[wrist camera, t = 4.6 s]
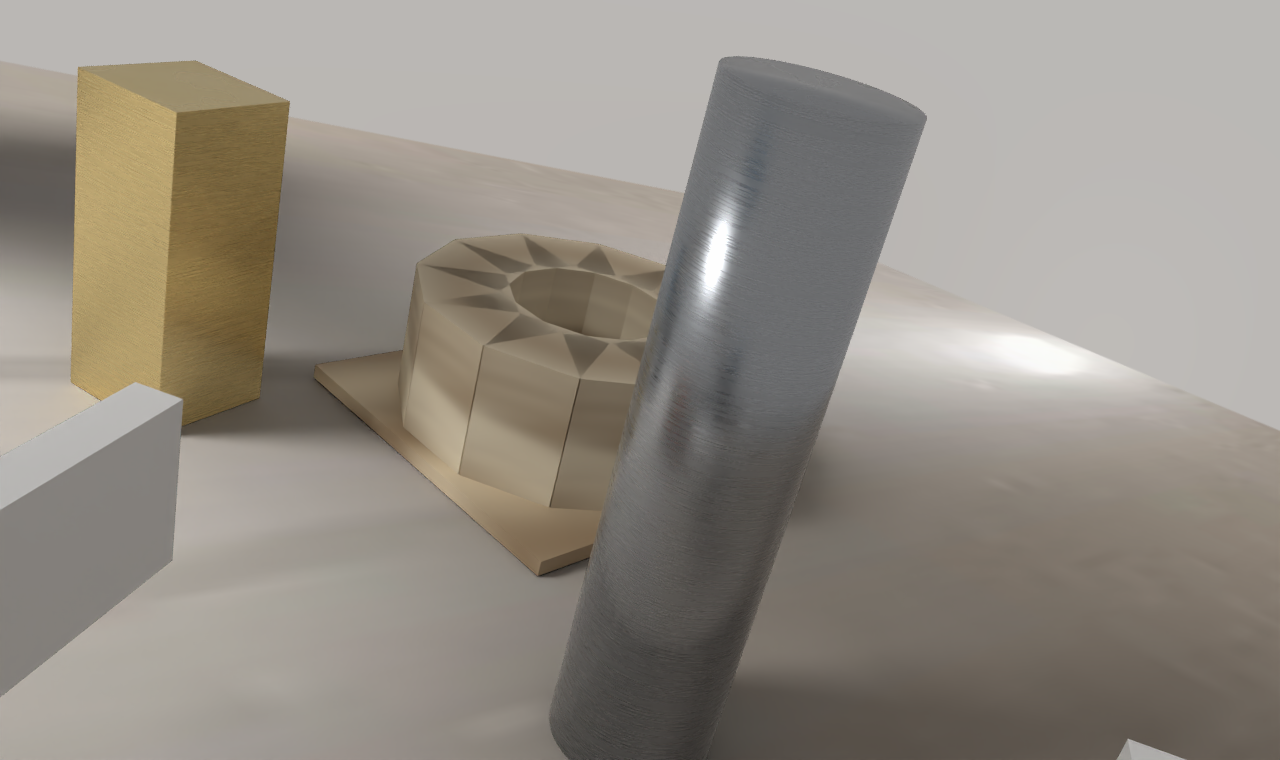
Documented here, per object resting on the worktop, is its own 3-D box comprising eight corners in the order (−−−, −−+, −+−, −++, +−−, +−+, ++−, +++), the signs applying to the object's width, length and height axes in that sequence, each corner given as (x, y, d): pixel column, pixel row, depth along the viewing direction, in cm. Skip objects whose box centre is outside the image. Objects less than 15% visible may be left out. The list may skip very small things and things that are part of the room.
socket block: (313, 377, 40) (330, 243, 38) (577, 331, 49) (602, 220, 47) (537, 575, 33) (573, 425, 31) (799, 481, 42) (842, 358, 40)
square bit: (70, 381, 36) (78, 66, 32) (176, 350, 40) (195, 60, 36) (157, 435, 35) (176, 112, 31) (259, 397, 38) (290, 101, 34)
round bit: (516, 706, 28) (675, 52, 21) (632, 653, 31) (805, 60, 24) (626, 816, 26) (843, 124, 19) (740, 749, 29) (966, 123, 22)
